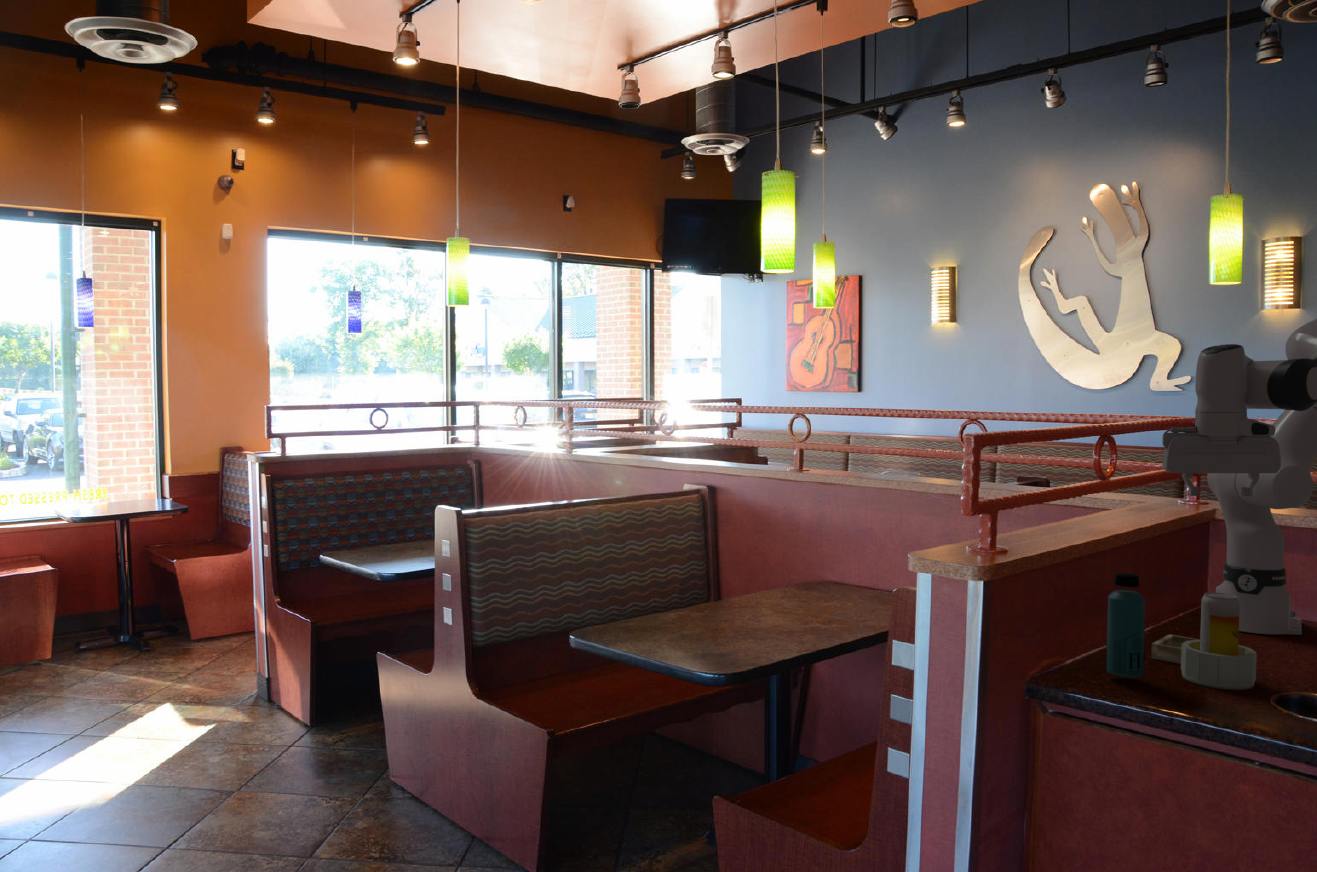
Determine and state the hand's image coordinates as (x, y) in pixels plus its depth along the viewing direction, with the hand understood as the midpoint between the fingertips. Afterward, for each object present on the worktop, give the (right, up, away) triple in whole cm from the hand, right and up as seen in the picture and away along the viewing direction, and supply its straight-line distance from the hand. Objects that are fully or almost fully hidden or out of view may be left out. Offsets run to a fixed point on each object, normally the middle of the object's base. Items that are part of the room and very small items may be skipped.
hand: (1220, 495), depth 185 cm
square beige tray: (-5, -33, +2) cm, 33 cm away
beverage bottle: (-25, -34, -12) cm, 44 cm away
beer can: (-8, -33, -12) cm, 36 cm away
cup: (-8, -34, -12) cm, 36 cm away
